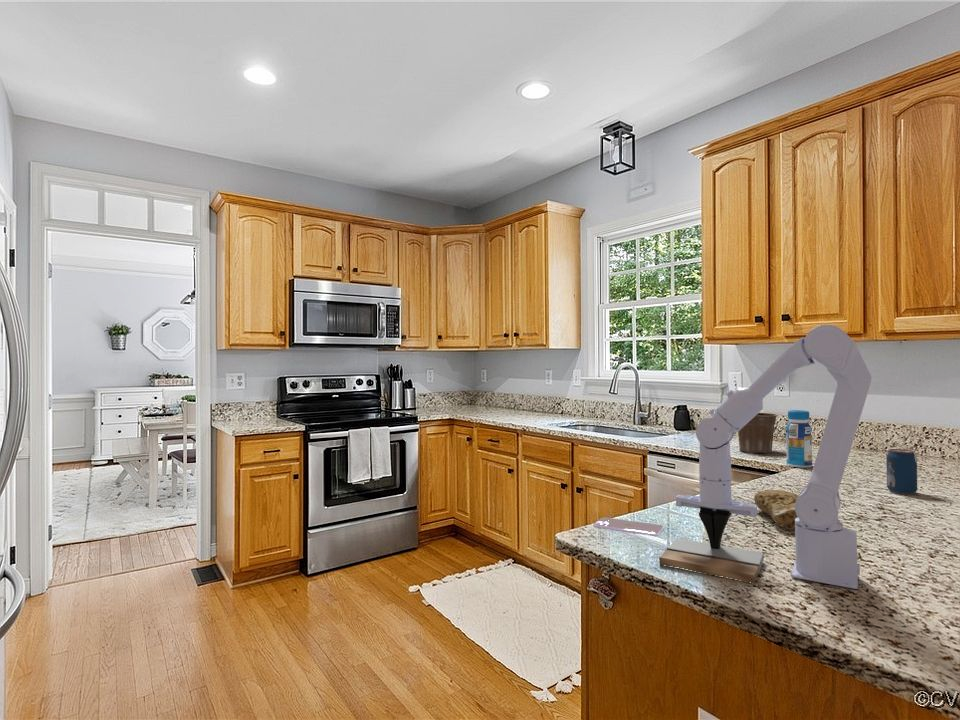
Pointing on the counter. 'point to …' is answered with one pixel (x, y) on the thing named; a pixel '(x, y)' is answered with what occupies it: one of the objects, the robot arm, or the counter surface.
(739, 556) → the grey plank
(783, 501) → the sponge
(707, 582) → the counter surface
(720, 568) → the walnut board
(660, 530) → the mobile phone
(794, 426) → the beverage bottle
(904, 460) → the soda can
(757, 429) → the plant pot
